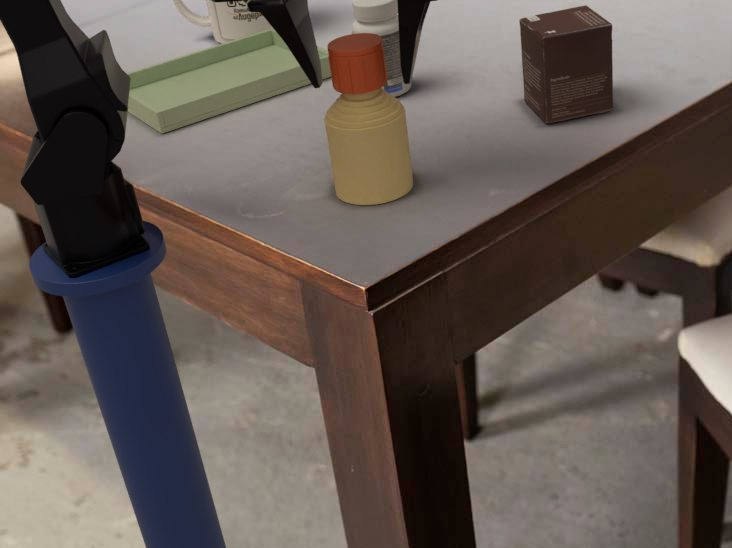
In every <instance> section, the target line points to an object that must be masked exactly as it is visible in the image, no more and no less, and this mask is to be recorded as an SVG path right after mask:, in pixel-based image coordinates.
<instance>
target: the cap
mask: <svg viewBox="0 0 732 548" xmlns="http://www.w3.org/2000/svg"><path fill="white" fill-rule="evenodd" d="M326 47H327V50H328V54H329V56H328V58H329V64H330V71H331V77H330V78H331V85H332V88H333V89H334V91H335V92H337V93H340V94H342V93H344V94H361V93H367V92H371V91H374V90H377V89H379V88H381V87H383V86H384V85H385V84H386V83H387V70H386V61H385V53H384V45H383V40H382V37H381V36H379V35H377V34H372V33H357V34H352V33H351V34H346V35H342V36H339V37H336V38H334V39H332V40H331V41H329V42H328V44H327V46H326Z"/></svg>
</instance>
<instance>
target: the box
mask: <svg viewBox="0 0 732 548" xmlns="http://www.w3.org/2000/svg"><path fill="white" fill-rule="evenodd" d="M518 21H519V30H520V47H521V49H520V50H521V65H522V78H523V79H522V80H523V99H524V102H525V104H527V105H528V106H529V107H530V108H531V110H533V111H534V112H535V114H537V116H539V117H540V119H541V120H543V122H544V123H545V124H552V123H557V122H563V121H567V120H572V119H576V118H583V117H585V116H590V115H591V116H592V115H596V114H602V113H607V112H610V111H613V109H614V85H613V81H614V79H613V75H614V74H613V69H614V67H613V24H612V23H611V22H610V21H608V20H607V19H606V18H605V17H603V16H602V15H600V14H599V13H597V12H596V11H594V10H593V9H592V8H590V7H589V6H588V5H580V6H576V7H575V6H574V7H570V8H565V9H561V10H555V11H550V12H545V13H539V14H533V15H529V16H525V17H522V18H519V20H518Z"/></svg>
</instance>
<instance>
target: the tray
mask: <svg viewBox="0 0 732 548" xmlns="http://www.w3.org/2000/svg"><path fill="white" fill-rule="evenodd" d="M317 49H318V54H319V58H320V63H321V72H322V81H323V80H325V79H329V78H331V71H330V64H329V58H328V56H329V54H328V49H326V48H323V47H320V46H318V45H317ZM125 73H126V74H127V75H129V76H130V78H131V81H130V91H129V101H128V113H129V114H131V115H133V116H134V117H135V118H137V119H139V121H141V122H143V123H145V124H146V125H148V126H149V127H151V128H152V129H153V130H155V131H157V132H158V133H160V134H161V135H163V134H166V133H168V132H171V131H174V130H177V129H181V128H183V127H187V126H189V125H192V124H195V123H198V122H201V121H205V120H207V119H210V118H212V117H216V116H220V115H222V114H225V113H228V112H231V111H234V110H237V109H239V108H242V107H245V106H249V105H251V104H254V103H258V102H261V101H264V100H266V99H270V98H273V97H274V96H278V95H281V94H285V93H287V92H290V91H293V90H296V89H298V88H302V87H306V86H308V85H310V84H311V82H310V81H309V79H308V77H307V76H306V74H305V73H304V71H303V70H302V68H301V67H300V65H299V63H298V62H297V60H296V59H295V57H294V56H293V54H292V53H291V51H290V50H289V48H288V47H287V45H286V44H285V42H284V41H283V40H282V38H281V37H280V36H279V35H278V33H277V32H276V31H275V30H274V29H273V28H272V29H268V30H265V31H262V32H259V33H255V34H252V35H249V36H246V37H242V38H239V39H236V40H233V41H229V42H226V43H223V44H222V43H219V44H217V45H214V46H210V47H207V48H204V49H200V50H197V51H194V52H191V53H188V54H185V55H181V56H178V57H174V58H171V59H168V60H166V61H162V62H158V63H156V64H152V65H148V66H145V67H142V68H139V69H136V70H132V71H129V72H125ZM311 85H312V84H311Z"/></svg>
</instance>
